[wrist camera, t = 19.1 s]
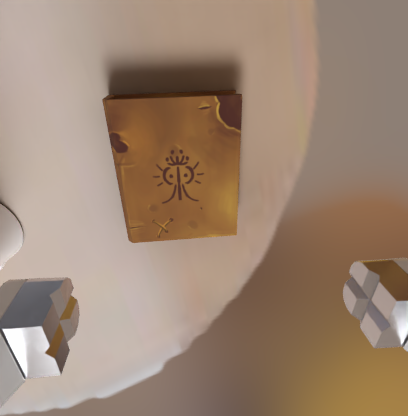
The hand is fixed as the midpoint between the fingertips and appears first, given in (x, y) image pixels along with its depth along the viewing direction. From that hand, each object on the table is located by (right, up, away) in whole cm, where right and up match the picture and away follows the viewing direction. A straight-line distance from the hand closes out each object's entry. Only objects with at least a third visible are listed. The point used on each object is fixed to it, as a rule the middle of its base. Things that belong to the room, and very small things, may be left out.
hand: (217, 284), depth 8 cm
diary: (-5, +10, +40) cm, 41 cm away
